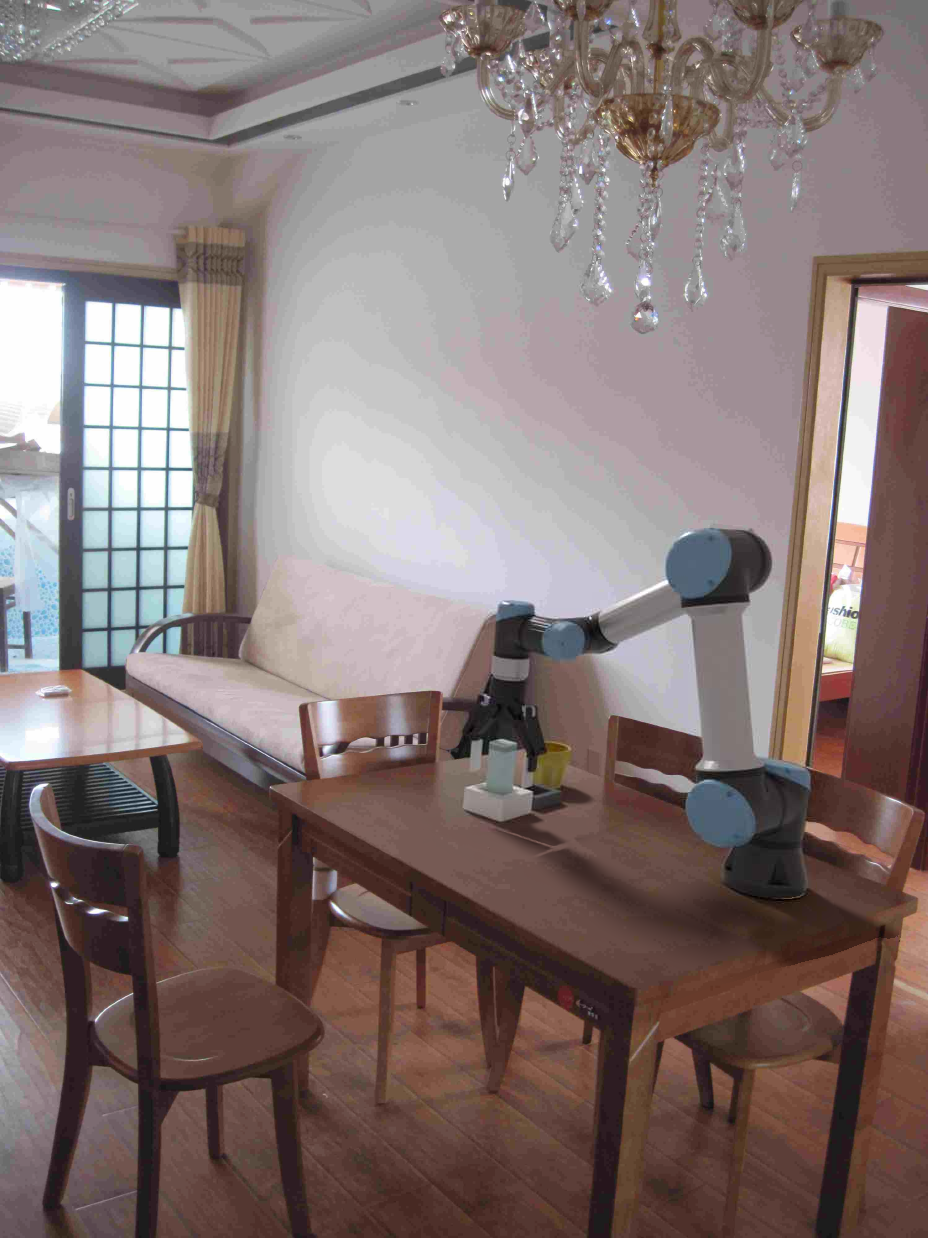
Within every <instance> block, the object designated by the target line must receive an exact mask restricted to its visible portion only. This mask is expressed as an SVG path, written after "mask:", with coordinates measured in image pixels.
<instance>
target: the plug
mask: <svg viewBox="0 0 928 1238" xmlns="http://www.w3.org/2000/svg"><path fill="white" fill-rule="evenodd" d="M517 750H518V743H517V742H514V741H511V740H508V739H504V738H500V739H499V738H498V739H495V740H491V741H489V744H488V756H487V757H488V758H487V767H486V768H487V769H486V781H485V782H486V788H485V791H488V792H491V793H495V794H498V795H501V796H502V795H506V794H509V793H513V785H514V782H515V780H514V779H515V770H516V761H517Z"/></svg>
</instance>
